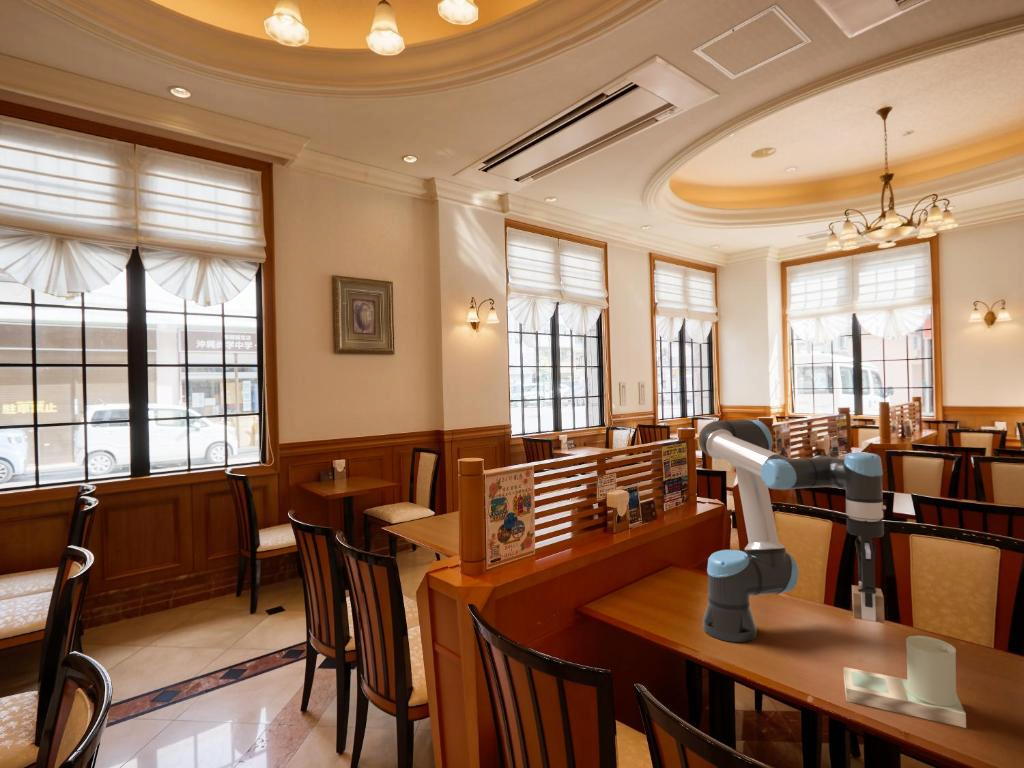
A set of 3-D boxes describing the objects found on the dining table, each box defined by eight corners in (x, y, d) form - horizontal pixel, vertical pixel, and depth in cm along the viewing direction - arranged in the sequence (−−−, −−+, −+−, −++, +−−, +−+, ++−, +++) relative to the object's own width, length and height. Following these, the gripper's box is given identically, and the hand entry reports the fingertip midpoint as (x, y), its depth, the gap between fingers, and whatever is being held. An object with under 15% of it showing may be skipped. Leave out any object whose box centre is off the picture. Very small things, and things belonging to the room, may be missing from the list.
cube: (854, 618, 129) (853, 593, 129) (852, 609, 134) (851, 585, 134) (884, 623, 126) (883, 597, 126) (881, 613, 131) (880, 588, 131)
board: (846, 701, 127) (846, 688, 127) (843, 678, 137) (843, 666, 137) (966, 727, 117) (965, 713, 117) (954, 701, 126) (953, 688, 126)
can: (942, 710, 118) (941, 655, 118) (897, 689, 126) (896, 638, 127) (966, 700, 122) (965, 646, 122) (921, 680, 130) (920, 630, 130)
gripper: (888, 528, 120) (891, 633, 120) (879, 511, 137) (881, 603, 137) (848, 525, 124) (851, 626, 124) (844, 508, 141) (846, 598, 140)
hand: (867, 614), depth 130 cm, fingers closed on cube, 6 cm apart
